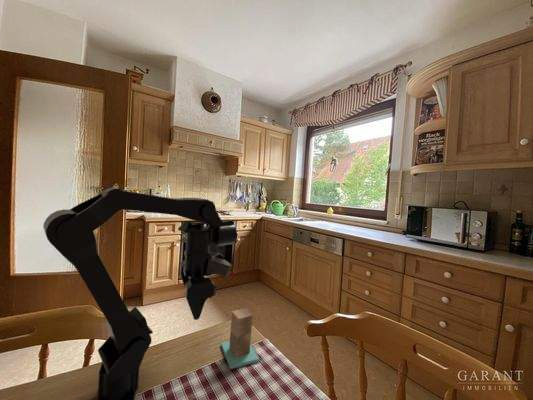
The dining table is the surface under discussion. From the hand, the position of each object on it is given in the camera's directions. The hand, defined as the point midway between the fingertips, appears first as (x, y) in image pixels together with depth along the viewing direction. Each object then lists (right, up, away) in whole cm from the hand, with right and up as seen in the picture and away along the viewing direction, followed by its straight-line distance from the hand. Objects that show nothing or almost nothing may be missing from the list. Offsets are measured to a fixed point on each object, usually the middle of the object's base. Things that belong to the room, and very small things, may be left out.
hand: (193, 309), depth 59 cm
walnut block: (+11, -12, +3) cm, 17 cm away
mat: (+11, -13, +3) cm, 17 cm away
